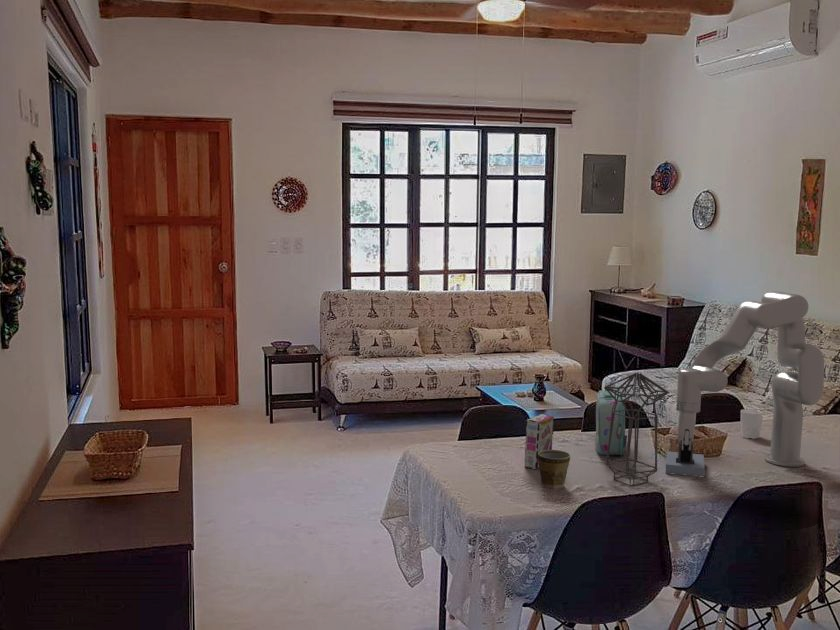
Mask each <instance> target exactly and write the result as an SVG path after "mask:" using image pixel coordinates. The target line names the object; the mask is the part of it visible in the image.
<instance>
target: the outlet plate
mask: <svg viewBox="0 0 840 630" xmlns="http://www.w3.org/2000/svg"><path fill="white" fill-rule="evenodd" d="M678 453H679V451H678V452H677V451H666V458H665V471H664V472H665V474H669V473H674V474H673V475H678V474H686V475H685V476H687V475H697V476H704V477H705V457H704V454H699V453H698V454H697V453H693V455H692V464H684V463H678ZM697 476H696V477H697Z"/></svg>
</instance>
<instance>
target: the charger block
mask: <svg viewBox="0 0 840 630" xmlns="http://www.w3.org/2000/svg"><path fill="white" fill-rule="evenodd" d="M683 441H685V440H683ZM684 444H685V443H684ZM688 444H689V443H688ZM683 448H684V447H683ZM681 450H682V440H680V441H678V452H679V453H678V463H684V464H692V455H693V454H694V441H693V442H691V448H690V450H691V461H690V462H681V461H680V457H681Z"/></svg>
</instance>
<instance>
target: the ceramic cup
mask: <svg viewBox="0 0 840 630" xmlns="http://www.w3.org/2000/svg"><path fill="white" fill-rule="evenodd" d="M570 460H571V454H570V453H569V452H567V451H564V450H563V451H562V450H558V449H552V450H543V451H540V452H538V462H539V467H540V468H539V473H540V479H541V480H540V481H541V485H542V486H543V485H544V486H543V487H545V488H546V487H548V488H547V489H552V488H558V489H562V488H563V487H564V486H565V482H566V478H567V472H568V469H569V465H570Z"/></svg>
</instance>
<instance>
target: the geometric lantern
mask: <svg viewBox="0 0 840 630" xmlns="http://www.w3.org/2000/svg"><path fill="white" fill-rule="evenodd" d="M623 381H624V382H623ZM632 381H633V383H632ZM620 382H623V383H622V384H620V386H618V387H616V386H613V385H615V384H618V383H620ZM652 385H653V386H652ZM654 386H655V387H656V388H657V389H655V388H654ZM637 387H638V394H637V395H636V388H637ZM628 388H629V389H628ZM603 389H604V390H605V391H608V393H609V394H610V395H611V396H612V397H613V398H614V400H615V402H616V403H615V402H614V405H615V407H614V405H613V408H614V411H613V408H612V411H613V412H612V411H611V412H612V414H611V424H610V433H609V443H608V452H607V455H606V461H605V465H606V467H608V468H609V470H611V472H612V473H613V481H616V482H619V483H622V484H624V485H626V486H629V487H634V486H638V485H643V484H647V483H649V477H650V476H652V475H653V474H655V473H657V471H658V425H659V424H658V423H659V421H658V420H659V415H658V414H657V407H656V403H657V402H658V401H659V400H661V399H663V398H664V397H665V396H666V395H668V394H670V391H668V390H667V389H665V388H664V387H662V386H660V385H659V384H658V383H656V382H655V381H653V380H651V379H650V378H648V377H647V376H646V375H644V374H643V373H641V372H640V373H639V372H633V373H632V374H630V375H628V376H626V377H624V378H621V379H618V380H616V381H614V382H611V383H609V384H607V385H605V386H604V387H603ZM621 389H622V390H621ZM627 389H628V390H627ZM658 389H659V390H658ZM619 390H621V392H620V391H619ZM610 391H611V392H612V393H614V394H615V397H614V396H613V395H612V394H611V392H610ZM614 391H615V392H614ZM631 391H632V393H629V392H631ZM646 391H648V392H649V393H650V394H647V392H646ZM617 392H618V394H617ZM641 392H642V393H641ZM619 393H620V395H619ZM616 395H617V399H616ZM619 397H620V399H621V400H618V398H619ZM621 397H622V398H624V399H623V400H622V398H621ZM632 397H637V398H640V400H641V401H642V405H641V406H640V407H639V409H634V408H633V406H632V405H631V403H630V402H629V399H630V398H632ZM643 397H645V398H646V399H645V400H644V399H643ZM649 400H651V401H652V402H649ZM626 401H627V403H628V405H629V406H630V408H631V409H628V408H627V407H626V404H625V402H626ZM617 402H622V403H623V405H624V409H625V410H619V411H615V409H616V405H617ZM651 405H652V407H653V412H654V413H651V412H647V411H644V410H642V409H643V408H644V407H645V406H647V407H648V406H651ZM621 411H625V412H626V413H627V415H628V416H626V415H625V416H624V415H620V414H617V413H615V412H621ZM630 411H631V414H630ZM635 412H637V413H636V414H635ZM640 412H641V413H644V414H648V415H651V416H647V417H640ZM615 414H617V415H620V416H623V417H625V419H626V418H627V419H629V420H628V427H627V428H628V429H627V430H628V431H627V444H626V456H625V459H622V460H621V459H619V460H613V461H609V459H610V458H609V456H610V455H609V450H610V443H611V436H612V430H613V423H614V415H615ZM645 419H646V420H647V419H654V465H651V464H649V463H646V462H642V461H640V460H638V455H639V454H638V453H639V452H638V451H639V429H640V420H645ZM633 426H634V442H633V443H634V444H633V445H634V447H633V448H634V450H633V452H634V457H633V458H634V459H631V458H630V452H631V443H632V434H633ZM622 462H625V468H624V469H620V468H618V467H616V466H613V465H610V464H615V463H622ZM630 462H633V465H632V467H631V469H630ZM637 463H638V464H641V465H645V466H646V467H649V468H653V469H651V470H643V471H641V470H640V471H638V470H637ZM615 470H616V471H615ZM620 473H624V475H623V474H620ZM637 474H641V475H644V476H637ZM616 475H618V476H616ZM631 477H632V478H631ZM618 478H619V479H620V478H625V479H628V480H629V483H627V482H624V481H622V480H618ZM645 478H646V479H645ZM638 479H640V480H642V481H643V482H639V483H635V480H638Z"/></svg>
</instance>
